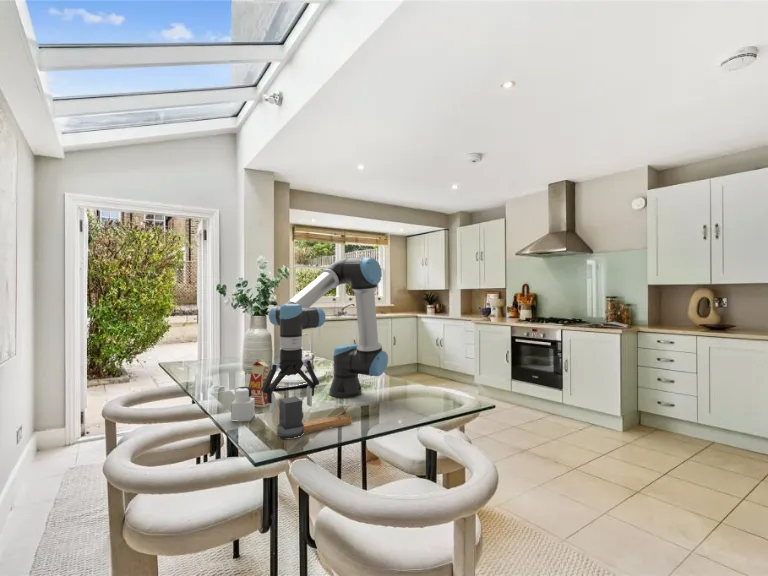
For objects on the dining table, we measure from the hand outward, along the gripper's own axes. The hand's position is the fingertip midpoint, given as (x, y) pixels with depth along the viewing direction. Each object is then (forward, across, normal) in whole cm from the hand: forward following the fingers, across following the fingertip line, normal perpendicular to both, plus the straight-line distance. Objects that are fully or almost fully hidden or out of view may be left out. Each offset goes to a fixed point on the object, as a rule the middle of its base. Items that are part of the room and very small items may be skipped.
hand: (291, 408), depth 142 cm
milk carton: (+9, +1, +41) cm, 42 cm away
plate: (+10, +20, +70) cm, 73 cm away
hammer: (+9, +9, 0) cm, 13 cm away
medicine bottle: (+9, -10, +25) cm, 28 cm away
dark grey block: (+6, 0, 0) cm, 6 cm away
